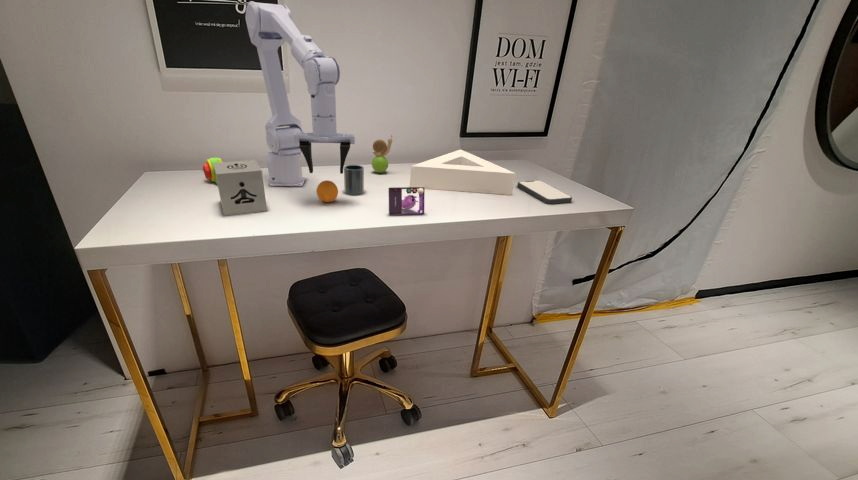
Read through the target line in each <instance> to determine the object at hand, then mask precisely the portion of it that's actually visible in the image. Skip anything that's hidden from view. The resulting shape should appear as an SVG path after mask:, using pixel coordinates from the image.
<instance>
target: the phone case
mask: <svg viewBox="0 0 858 480" xmlns="http://www.w3.org/2000/svg"><path fill="white" fill-rule="evenodd" d="M516 186H517V187H518V188H519V189H521V190H522V191H524V192H526V193H528V194H529V195H531V196H532V197H534V198H535V199H538V200H540V201H541V202H543V203H544V204H546V205H547V204H548V205H556V204H566V203H571V202H572V200H573V197H572V196H571V195H569V194H567V193H565V192H563V191H561V190H559V189H557V188H555V187H554V186H552V185H550V184H548V183H547V182H544V181H543V180H538V179H537V180H523V181H518V182H517V185H516Z"/></svg>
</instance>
